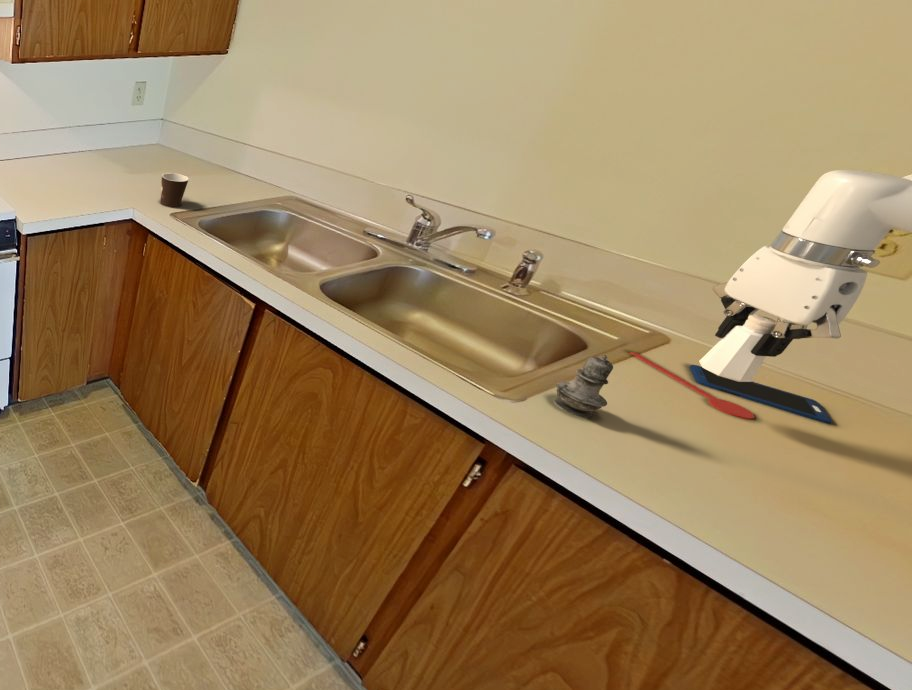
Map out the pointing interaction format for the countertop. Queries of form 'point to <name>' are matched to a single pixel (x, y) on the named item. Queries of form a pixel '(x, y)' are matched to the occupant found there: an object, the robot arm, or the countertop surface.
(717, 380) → the cell phone
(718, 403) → the spoon
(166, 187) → the coffee mug
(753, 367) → the pepper shaker
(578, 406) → the grey chess piece
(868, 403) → the countertop surface
